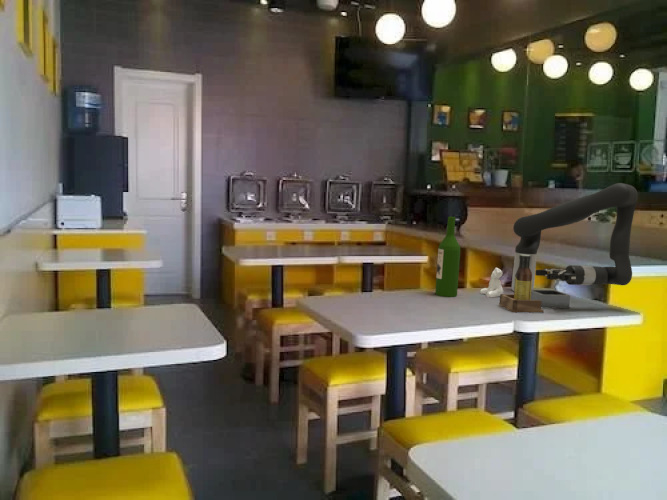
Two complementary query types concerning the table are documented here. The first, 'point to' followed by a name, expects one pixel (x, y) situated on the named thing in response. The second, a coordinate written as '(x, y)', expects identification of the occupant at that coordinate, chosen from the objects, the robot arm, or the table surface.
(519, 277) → the sauce bottle
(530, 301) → the tray
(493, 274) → the white creature statuette
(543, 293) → the grey open box
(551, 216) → the robot arm
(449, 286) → the wine bottle
